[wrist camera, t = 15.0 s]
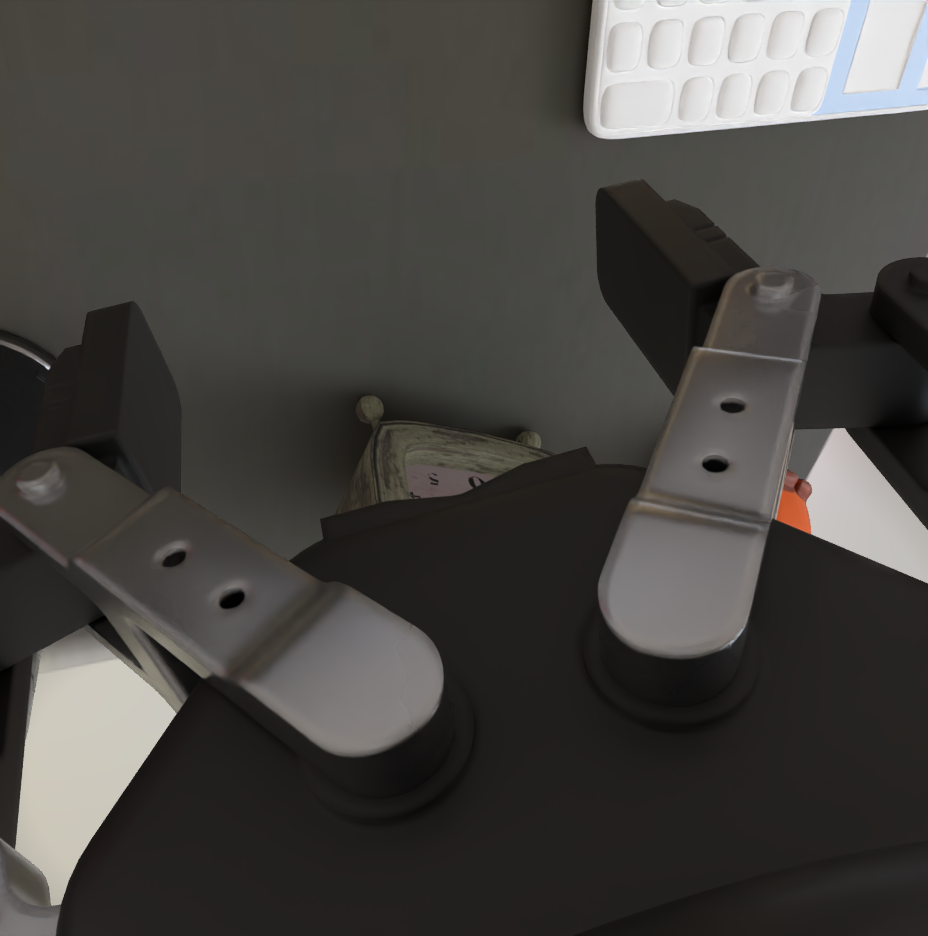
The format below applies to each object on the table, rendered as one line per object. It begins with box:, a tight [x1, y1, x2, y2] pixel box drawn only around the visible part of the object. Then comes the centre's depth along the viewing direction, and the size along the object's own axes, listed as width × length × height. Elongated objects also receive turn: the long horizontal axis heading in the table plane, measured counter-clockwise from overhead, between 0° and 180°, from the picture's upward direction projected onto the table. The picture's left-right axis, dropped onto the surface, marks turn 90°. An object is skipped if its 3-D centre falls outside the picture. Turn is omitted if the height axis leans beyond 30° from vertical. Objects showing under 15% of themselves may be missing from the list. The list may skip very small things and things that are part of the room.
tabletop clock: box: [335, 395, 555, 515], centre depth 43 cm, size 14×9×25 cm, turn 66°
